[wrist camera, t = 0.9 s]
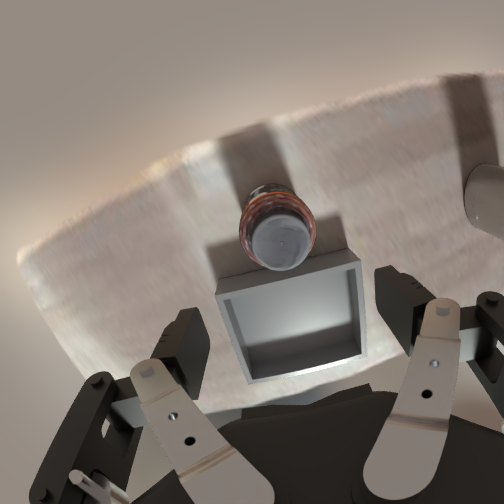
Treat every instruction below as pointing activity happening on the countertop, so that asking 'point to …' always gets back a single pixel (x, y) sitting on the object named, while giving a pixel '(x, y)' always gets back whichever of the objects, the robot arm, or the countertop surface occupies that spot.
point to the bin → (296, 316)
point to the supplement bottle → (276, 228)
